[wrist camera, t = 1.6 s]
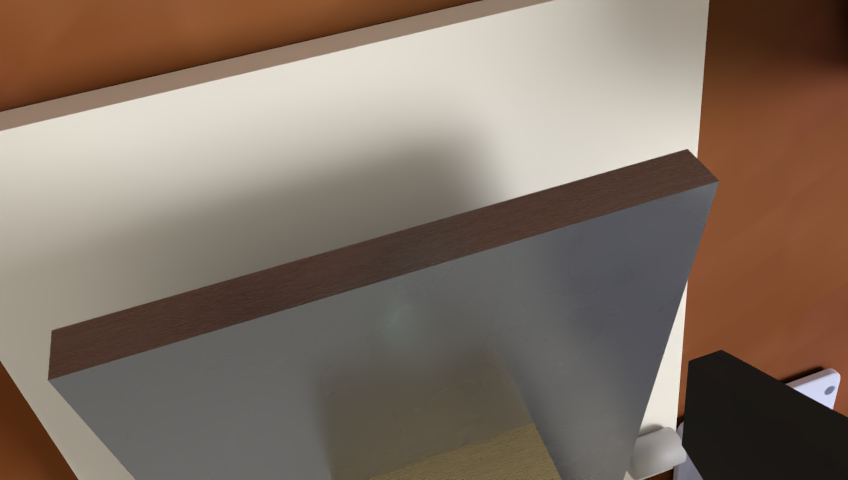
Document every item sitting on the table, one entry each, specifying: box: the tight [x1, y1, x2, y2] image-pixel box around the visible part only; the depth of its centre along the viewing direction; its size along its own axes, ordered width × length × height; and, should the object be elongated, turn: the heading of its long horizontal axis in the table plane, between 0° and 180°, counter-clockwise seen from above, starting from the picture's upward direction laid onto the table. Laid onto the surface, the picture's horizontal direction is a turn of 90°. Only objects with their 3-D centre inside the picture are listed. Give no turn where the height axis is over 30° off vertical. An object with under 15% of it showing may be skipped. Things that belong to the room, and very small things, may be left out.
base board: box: [0, 0, 709, 480], centre depth 21 cm, size 20×20×3 cm
